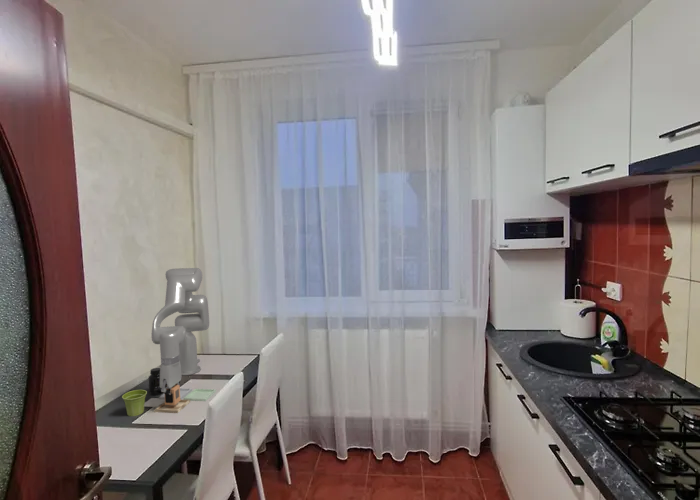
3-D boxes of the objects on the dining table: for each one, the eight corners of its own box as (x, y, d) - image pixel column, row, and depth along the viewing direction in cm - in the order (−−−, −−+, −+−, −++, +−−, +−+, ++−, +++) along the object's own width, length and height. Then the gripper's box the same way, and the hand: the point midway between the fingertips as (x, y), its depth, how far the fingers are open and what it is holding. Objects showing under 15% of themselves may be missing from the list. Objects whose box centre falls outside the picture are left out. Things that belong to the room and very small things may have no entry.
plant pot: (153, 410, 177) (152, 391, 176) (135, 420, 168) (134, 400, 167) (136, 407, 180) (135, 388, 179) (118, 417, 171) (116, 397, 170)
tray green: (195, 391, 196) (194, 388, 195) (216, 392, 194) (215, 389, 194) (183, 401, 185) (183, 398, 185) (205, 402, 184) (205, 399, 184)
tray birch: (168, 402, 184) (168, 399, 184) (190, 403, 183) (190, 399, 183) (154, 413, 174) (154, 409, 174) (177, 414, 173) (177, 410, 173)
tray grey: (171, 390, 197) (171, 387, 197) (192, 391, 196) (192, 388, 196) (158, 400, 187) (158, 397, 186) (180, 401, 185) (180, 398, 185)
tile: (151, 399, 188) (151, 398, 188) (167, 400, 187) (167, 398, 187) (140, 407, 180) (140, 405, 180) (157, 407, 179) (157, 406, 179)
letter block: (170, 399, 182) (170, 384, 181) (180, 400, 181) (179, 384, 180) (165, 404, 177) (164, 388, 177) (175, 405, 177) (174, 389, 176)
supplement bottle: (158, 397, 190) (157, 372, 189) (145, 396, 191) (144, 371, 190) (168, 391, 197) (166, 367, 196) (155, 390, 198) (154, 366, 197)
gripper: (173, 352, 186) (175, 391, 188) (150, 366, 169) (153, 408, 171) (188, 353, 185) (190, 391, 187) (167, 367, 168) (169, 409, 170)
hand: (172, 399), depth 179 cm, fingers closed on letter block, 4 cm apart
